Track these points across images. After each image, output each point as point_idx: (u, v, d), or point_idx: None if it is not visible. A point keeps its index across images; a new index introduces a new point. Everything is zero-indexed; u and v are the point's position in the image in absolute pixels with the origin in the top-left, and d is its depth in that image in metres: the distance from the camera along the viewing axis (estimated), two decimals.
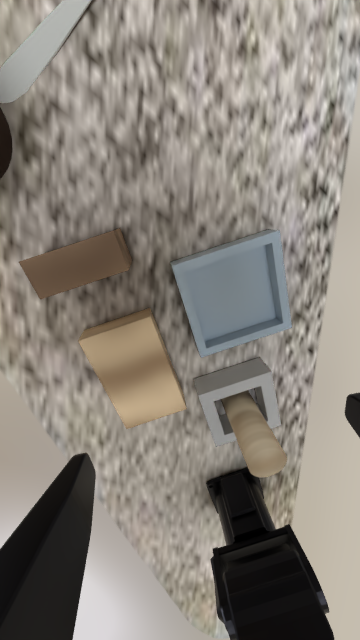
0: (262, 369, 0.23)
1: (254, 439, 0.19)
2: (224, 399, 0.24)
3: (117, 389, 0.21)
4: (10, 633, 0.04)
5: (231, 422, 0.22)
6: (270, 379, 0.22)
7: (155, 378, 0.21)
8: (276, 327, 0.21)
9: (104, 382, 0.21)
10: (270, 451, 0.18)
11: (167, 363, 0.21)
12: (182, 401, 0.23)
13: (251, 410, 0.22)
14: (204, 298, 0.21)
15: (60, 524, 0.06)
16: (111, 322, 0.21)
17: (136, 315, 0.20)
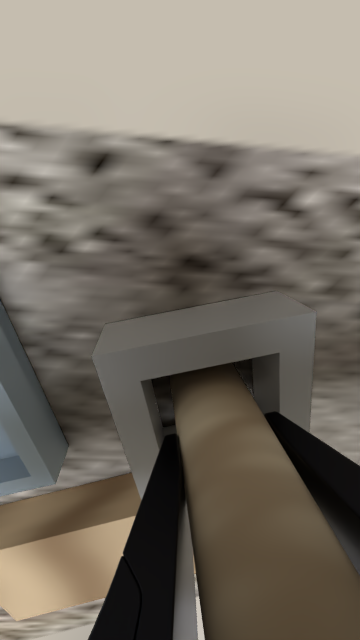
0: None
1: None
2: None
3: None
4: (177, 591, 0.04)
5: None
6: (121, 355, 0.07)
7: (94, 548, 0.11)
8: None
9: (96, 597, 0.13)
10: None
11: (60, 536, 0.11)
12: None
13: (182, 456, 0.07)
14: None
15: (181, 496, 0.06)
16: None
17: None
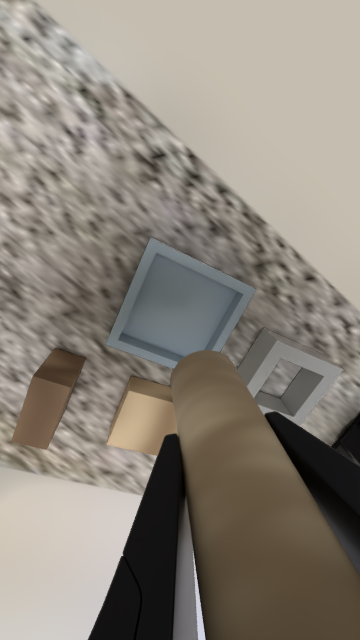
0: (269, 342, 0.20)
1: None
2: None
3: None
4: (178, 591, 0.04)
5: None
6: (284, 346, 0.19)
7: None
8: (240, 302, 0.18)
9: (154, 452, 0.22)
10: None
11: None
12: None
13: (183, 457, 0.07)
14: (160, 334, 0.20)
15: (181, 496, 0.06)
16: (118, 409, 0.22)
17: (125, 392, 0.21)
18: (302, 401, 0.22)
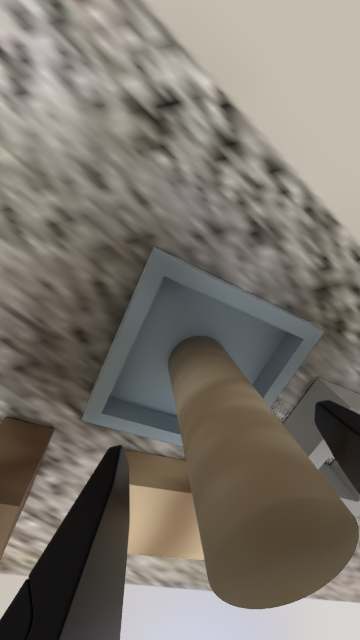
0: None
1: None
2: None
3: (179, 548, 0.16)
4: (76, 616, 0.04)
5: None
6: None
7: None
8: (298, 352, 0.11)
9: (159, 553, 0.16)
10: (217, 563, 0.04)
11: None
12: None
13: (179, 414, 0.08)
14: (167, 395, 0.13)
15: (107, 513, 0.06)
16: None
17: None
18: None
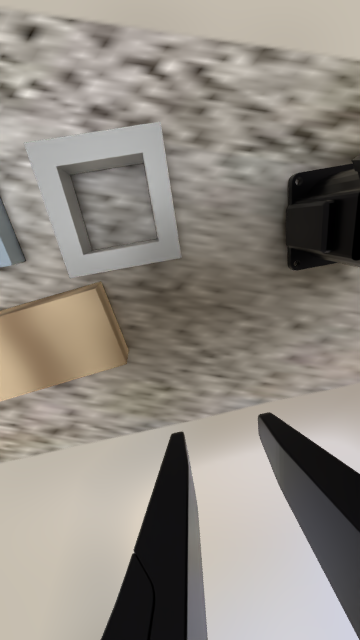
0: None
1: None
2: None
3: (62, 371, 0.18)
4: (189, 588, 0.04)
5: None
6: (42, 144, 0.12)
7: (41, 328, 0.16)
8: None
9: (51, 382, 0.18)
10: None
11: (15, 313, 0.16)
12: (81, 294, 0.16)
13: None
14: None
15: (189, 494, 0.06)
16: None
17: None
18: (153, 212, 0.14)
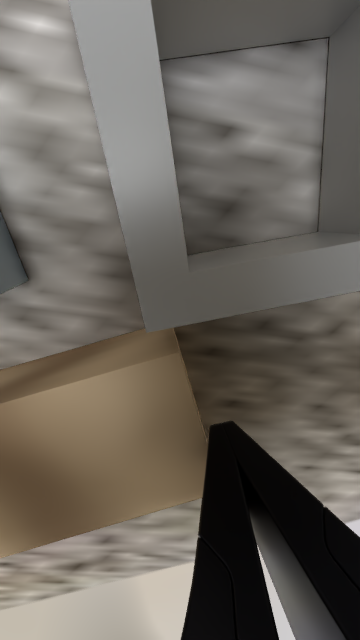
0: None
1: None
2: None
3: (87, 513, 0.08)
4: None
5: None
6: None
7: (44, 440, 0.07)
8: None
9: (65, 533, 0.09)
10: None
11: None
12: (143, 365, 0.06)
13: None
14: None
15: (241, 482, 0.06)
16: None
17: None
18: None
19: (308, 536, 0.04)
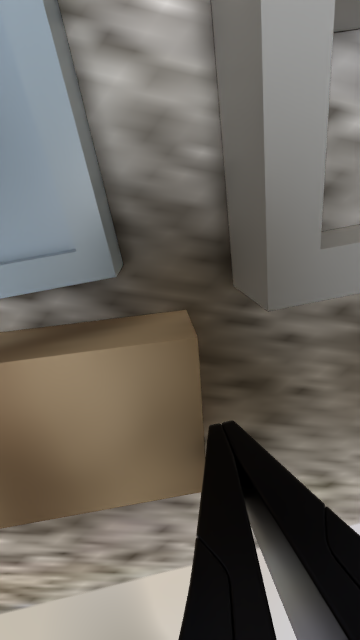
0: None
1: None
2: None
3: (65, 496, 0.08)
4: None
5: None
6: None
7: (38, 410, 0.06)
8: None
9: (37, 516, 0.08)
10: None
11: None
12: (159, 345, 0.06)
13: None
14: None
15: (239, 482, 0.06)
16: None
17: None
18: None
19: (310, 535, 0.04)
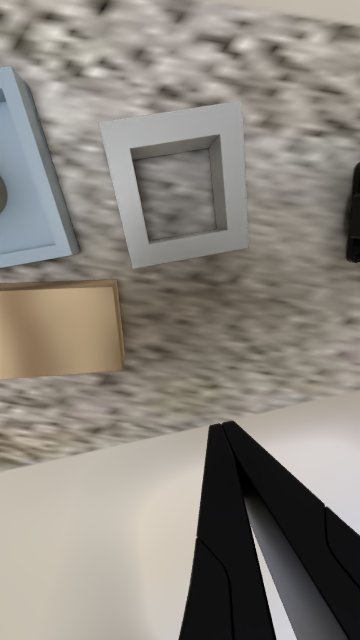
0: None
1: None
2: None
3: (51, 363, 0.16)
4: None
5: None
6: (117, 124, 0.12)
7: (42, 314, 0.15)
8: (11, 105, 0.11)
9: (36, 373, 0.16)
10: None
11: (18, 292, 0.14)
12: (96, 289, 0.15)
13: None
14: None
15: (239, 482, 0.06)
16: None
17: None
18: (223, 199, 0.14)
19: (310, 536, 0.04)
